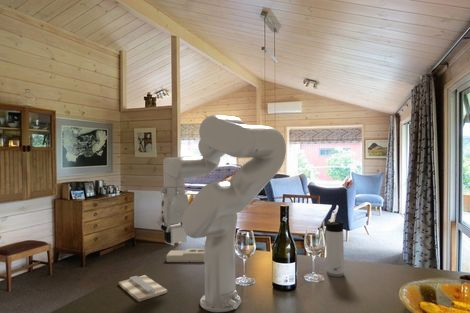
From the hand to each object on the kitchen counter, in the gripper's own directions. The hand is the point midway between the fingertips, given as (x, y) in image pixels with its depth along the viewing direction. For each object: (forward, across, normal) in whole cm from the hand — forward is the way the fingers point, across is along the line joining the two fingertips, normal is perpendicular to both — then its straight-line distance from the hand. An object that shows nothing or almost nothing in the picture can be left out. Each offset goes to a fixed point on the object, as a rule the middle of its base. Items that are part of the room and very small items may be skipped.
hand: (175, 240), depth 119 cm
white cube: (+1, 0, 0) cm, 1 cm away
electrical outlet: (+16, +17, +20) cm, 30 cm away
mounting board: (+15, -12, +3) cm, 20 cm away
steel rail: (+15, -12, +3) cm, 20 cm away
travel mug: (+16, +49, -34) cm, 62 cm away
